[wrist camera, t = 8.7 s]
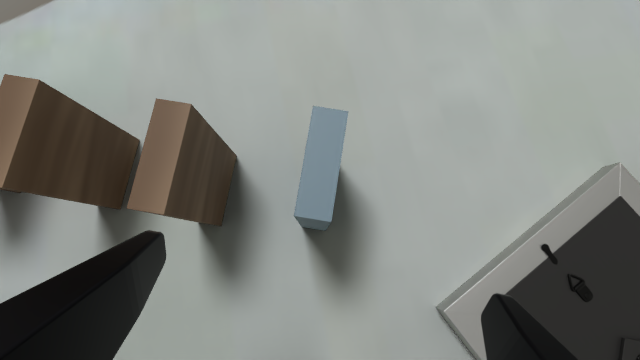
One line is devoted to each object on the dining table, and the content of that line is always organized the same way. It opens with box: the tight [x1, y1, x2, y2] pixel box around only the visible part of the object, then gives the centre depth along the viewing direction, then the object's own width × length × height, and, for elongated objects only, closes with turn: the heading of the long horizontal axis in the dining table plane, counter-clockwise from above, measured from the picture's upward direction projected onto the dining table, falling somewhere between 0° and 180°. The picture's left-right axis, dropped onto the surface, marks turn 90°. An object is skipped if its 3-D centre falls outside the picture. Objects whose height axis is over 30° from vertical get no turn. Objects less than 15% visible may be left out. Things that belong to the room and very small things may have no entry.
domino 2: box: [127, 99, 236, 226], centre depth 19 cm, size 2×5×9 cm, turn 171°
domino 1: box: [0, 74, 139, 209], centre depth 19 cm, size 2×5×9 cm, turn 171°
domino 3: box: [294, 106, 348, 231], centre depth 19 cm, size 2×5×9 cm, turn 171°
